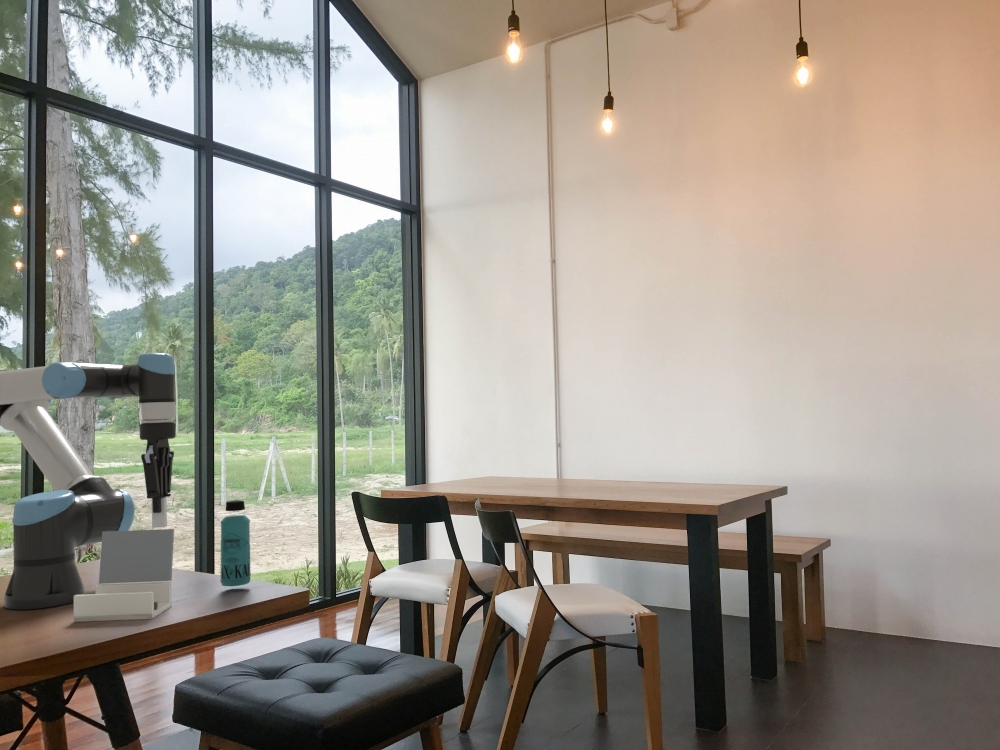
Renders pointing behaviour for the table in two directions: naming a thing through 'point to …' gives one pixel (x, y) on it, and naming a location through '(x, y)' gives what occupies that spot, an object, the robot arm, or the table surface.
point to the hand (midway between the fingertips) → (159, 526)
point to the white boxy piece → (123, 602)
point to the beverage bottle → (235, 547)
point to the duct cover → (136, 556)
